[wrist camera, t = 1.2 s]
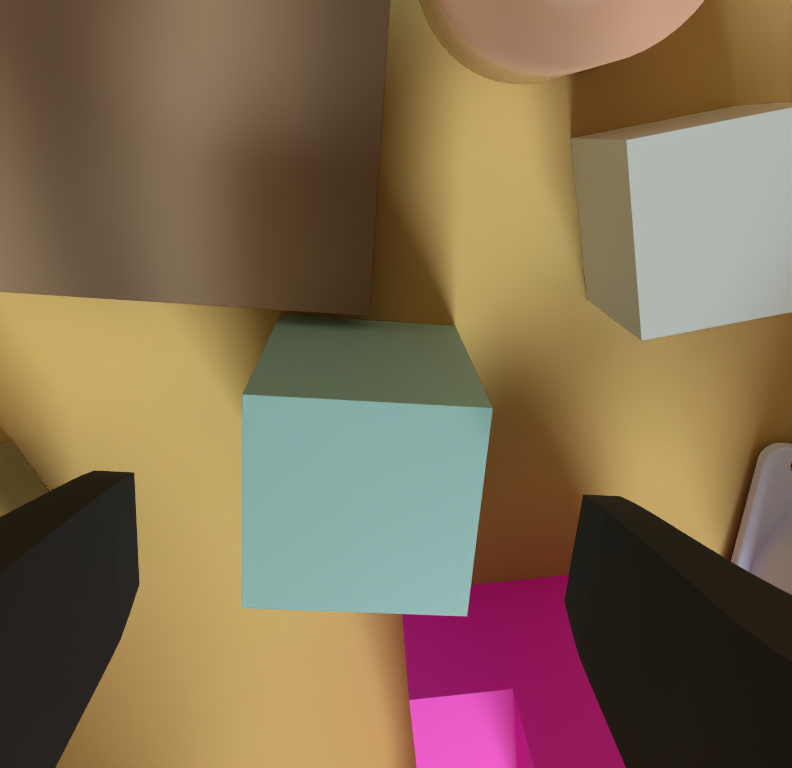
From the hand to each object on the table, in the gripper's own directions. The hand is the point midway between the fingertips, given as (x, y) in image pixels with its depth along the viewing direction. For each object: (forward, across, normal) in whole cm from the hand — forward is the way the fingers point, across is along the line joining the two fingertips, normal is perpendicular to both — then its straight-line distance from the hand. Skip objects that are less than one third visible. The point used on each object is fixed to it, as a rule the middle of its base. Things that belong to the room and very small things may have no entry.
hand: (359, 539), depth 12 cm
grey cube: (+8, -7, -5) cm, 12 cm away
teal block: (+8, 0, +1) cm, 8 cm away
